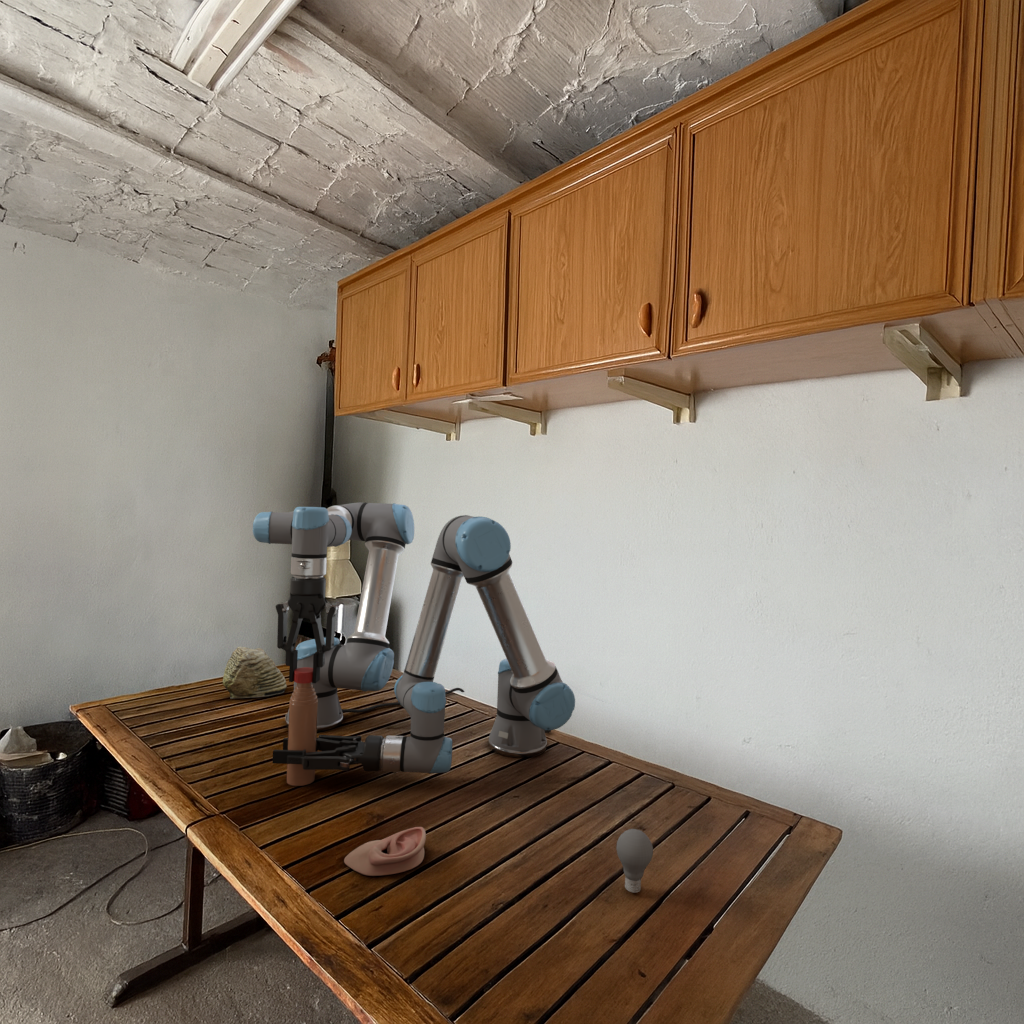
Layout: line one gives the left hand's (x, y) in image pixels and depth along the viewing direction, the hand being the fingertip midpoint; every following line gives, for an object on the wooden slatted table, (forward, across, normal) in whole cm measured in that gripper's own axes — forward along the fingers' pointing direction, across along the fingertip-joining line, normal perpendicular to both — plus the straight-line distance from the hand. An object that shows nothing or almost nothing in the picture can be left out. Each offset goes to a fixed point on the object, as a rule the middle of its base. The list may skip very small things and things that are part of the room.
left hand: (304, 680), depth 141 cm
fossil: (+22, -35, +56) cm, 70 cm away
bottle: (+22, 0, 0) cm, 22 cm away
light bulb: (+22, +68, -34) cm, 79 cm away
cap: (-2, 0, 0) cm, 2 cm away
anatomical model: (+22, +25, -29) cm, 44 cm away
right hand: (+16, -5, 0) cm, 17 cm away
